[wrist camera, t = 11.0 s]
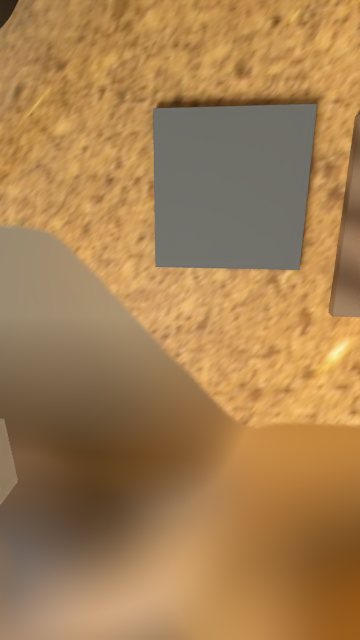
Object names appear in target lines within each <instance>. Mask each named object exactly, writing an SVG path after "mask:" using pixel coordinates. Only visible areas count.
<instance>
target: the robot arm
mask: <svg viewBox="0 0 360 640" xmlns="http://www.w3.org/2000/svg"><path fill="white" fill-rule="evenodd" d="M16 2H17V0H0V28H1V27H2V26H3V25H4V23H5V22H6V21H7V19H8V18H9V16H10V15H11V13H12V11H13V9H14V7H15V4H16ZM17 481H18V480H17V476H16V471H15V466H14V462H13V457H12V453H11V449H10V444H9V440H8V435H7V431H6V426H5V422H4V419H0V504H1V503H2V502H3V500H4V499H5V498H6V496H7V495H8V494H9V492H10V491H11V489H12V488H13V487H14V485H15V484H16V483H17Z"/></svg>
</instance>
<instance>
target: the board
mask: <svg viewBox="0 0 360 640" xmlns="http://www.w3.org/2000/svg"><path fill="white" fill-rule="evenodd" d="M359 233H360V114H359V115H358V116H356V117H355V123H354V130H353V137H352V145H351V152H350V159H349V167H348V174H347V181H346V189H345V196H344V203H343V211H342V218H341V225H340V233H339V240H338V247H337V255H336V262H335V269H334V277H333V284H332V291H331V299H330V306H329V313H330V314H331V315H332V316H340V317H360V239H359Z"/></svg>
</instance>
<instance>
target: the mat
mask: <svg viewBox="0 0 360 640" xmlns="http://www.w3.org/2000/svg"><path fill="white" fill-rule="evenodd" d="M316 110H317V104H288V105H253V106H218V107H182V108H153V129H154V192H155V256H156V267H183V268H231V269H278V270H300V260H301V251H302V241H303V232H304V223H305V213H306V204H307V195H308V185H309V176H310V166H311V157H312V148H313V138H314V129H315V119H316Z"/></svg>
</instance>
